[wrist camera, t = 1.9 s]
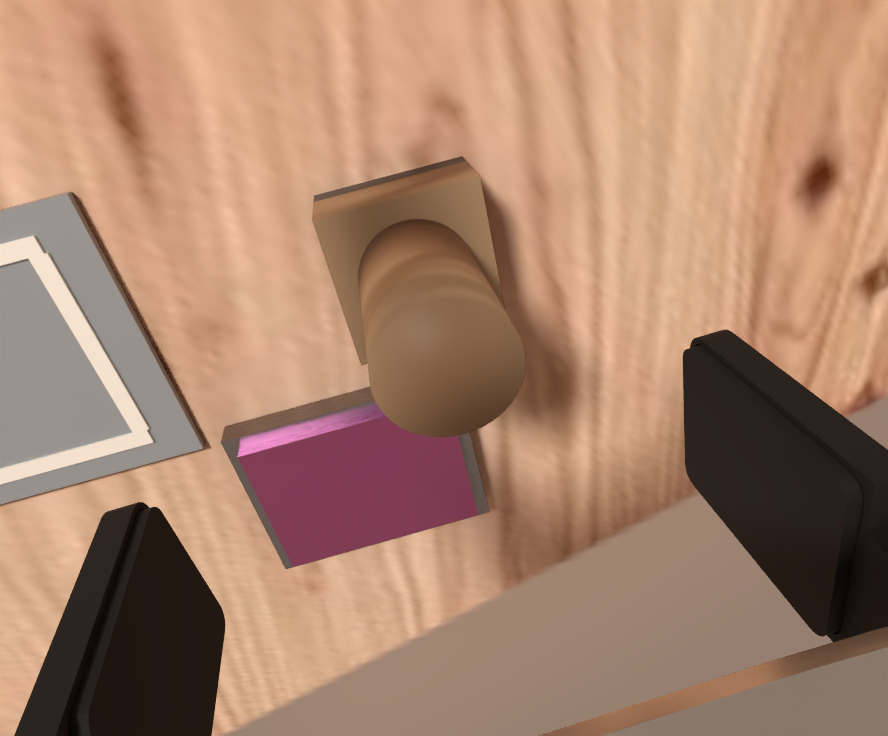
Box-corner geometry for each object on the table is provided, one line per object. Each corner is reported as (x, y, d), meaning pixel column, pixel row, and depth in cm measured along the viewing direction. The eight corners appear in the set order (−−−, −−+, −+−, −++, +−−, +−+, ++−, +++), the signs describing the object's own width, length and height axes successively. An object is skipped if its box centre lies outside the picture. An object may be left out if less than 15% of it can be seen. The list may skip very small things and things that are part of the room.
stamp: (462, 156, 21) (539, 241, 13) (489, 292, 23) (567, 429, 16) (313, 195, 21) (306, 303, 13) (357, 328, 23) (372, 483, 16)
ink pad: (451, 364, 24) (458, 384, 23) (484, 496, 28) (492, 520, 27) (224, 427, 24) (218, 450, 23) (287, 552, 28) (285, 578, 27)
